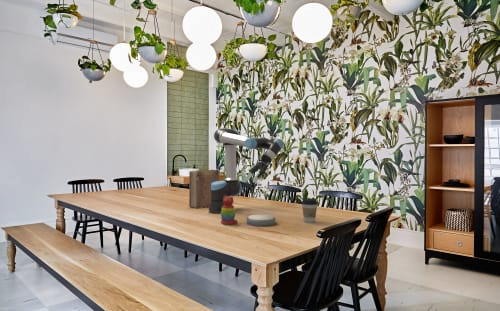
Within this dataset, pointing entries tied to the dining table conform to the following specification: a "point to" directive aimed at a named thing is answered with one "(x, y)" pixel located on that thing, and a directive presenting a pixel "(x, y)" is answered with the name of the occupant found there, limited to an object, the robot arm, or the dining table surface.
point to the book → (201, 187)
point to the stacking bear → (228, 212)
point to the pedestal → (261, 220)
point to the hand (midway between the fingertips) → (249, 180)
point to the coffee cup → (309, 210)
